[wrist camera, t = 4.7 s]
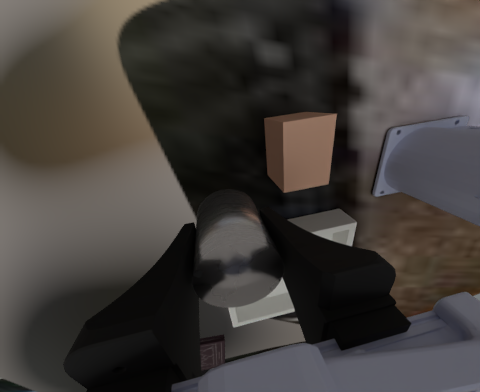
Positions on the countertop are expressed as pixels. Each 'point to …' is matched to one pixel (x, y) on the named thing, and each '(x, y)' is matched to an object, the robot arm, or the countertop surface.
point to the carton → (299, 149)
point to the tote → (278, 301)
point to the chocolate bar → (212, 351)
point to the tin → (233, 252)
